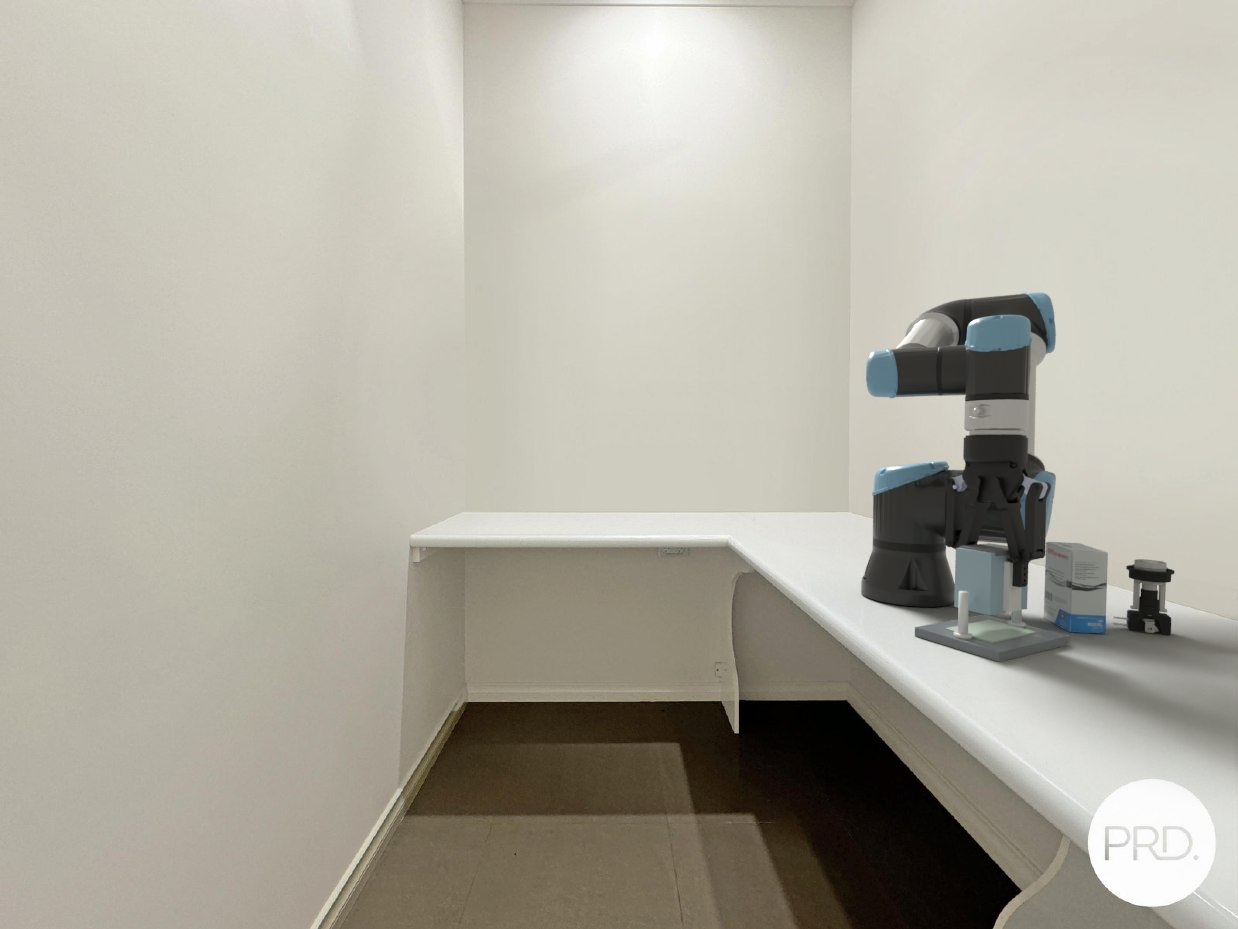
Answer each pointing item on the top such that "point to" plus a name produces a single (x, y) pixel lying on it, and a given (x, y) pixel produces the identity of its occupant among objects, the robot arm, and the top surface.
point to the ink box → (1076, 587)
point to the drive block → (983, 577)
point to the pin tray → (991, 634)
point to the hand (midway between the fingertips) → (990, 605)
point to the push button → (1148, 597)
